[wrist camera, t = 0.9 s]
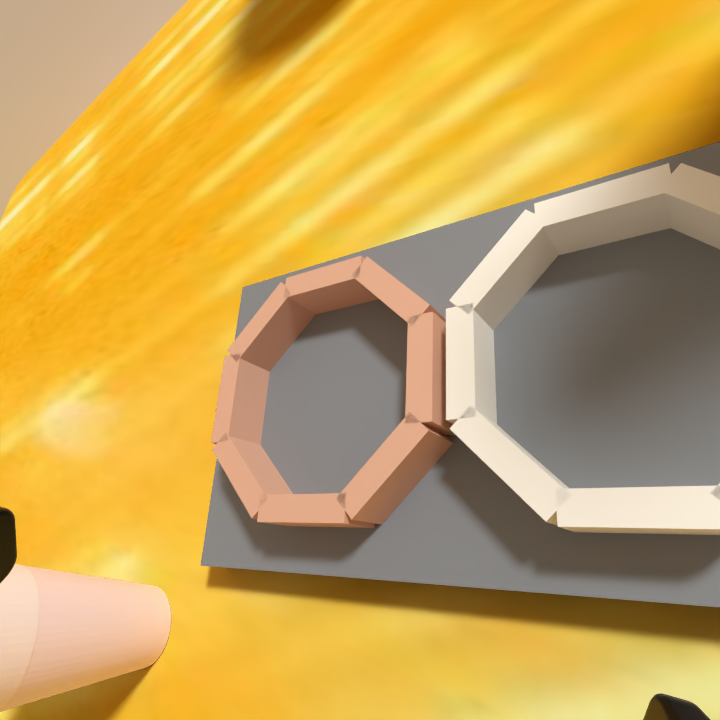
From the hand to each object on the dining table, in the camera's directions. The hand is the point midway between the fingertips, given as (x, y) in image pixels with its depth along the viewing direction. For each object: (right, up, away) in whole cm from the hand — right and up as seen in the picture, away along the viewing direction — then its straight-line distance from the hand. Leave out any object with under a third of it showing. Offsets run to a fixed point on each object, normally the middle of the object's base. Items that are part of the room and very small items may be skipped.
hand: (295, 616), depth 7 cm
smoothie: (-10, -10, +19) cm, 24 cm away
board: (+5, +2, +14) cm, 15 cm away
